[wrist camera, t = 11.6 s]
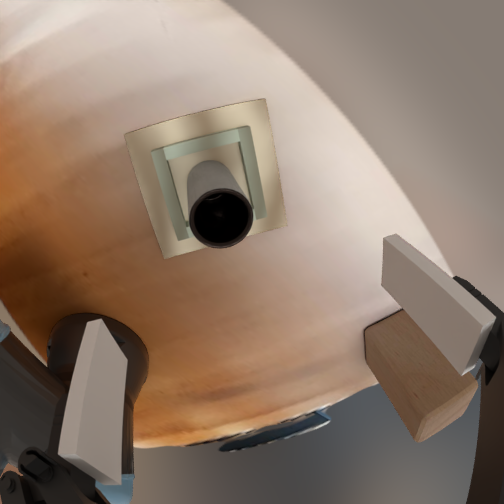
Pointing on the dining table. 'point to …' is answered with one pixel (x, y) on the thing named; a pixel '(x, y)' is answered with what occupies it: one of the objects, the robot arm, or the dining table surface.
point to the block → (416, 376)
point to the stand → (202, 149)
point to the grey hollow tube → (217, 206)
